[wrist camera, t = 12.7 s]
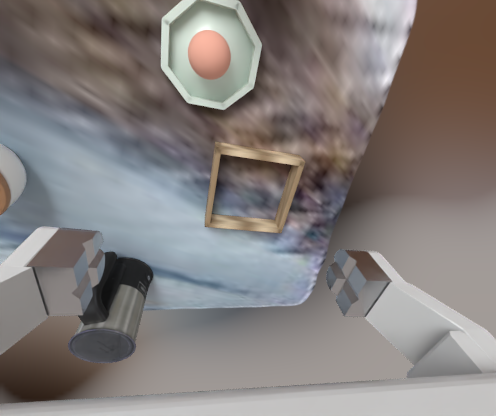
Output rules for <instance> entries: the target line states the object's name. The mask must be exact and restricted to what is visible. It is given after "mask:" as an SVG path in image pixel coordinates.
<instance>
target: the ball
mask: <svg viewBox="0 0 496 416" xmlns="http://www.w3.org/2000/svg"><path fill="white" fill-rule="evenodd" d="M188 59H189V62H190V65H191V67H192V69H193V70H194V71H195V72H196V74H198V75H199V76H200V77H202V78H204V79H208V80H214V79H218V78H220V77H221V76H223V75H224V74H225V73H226V71H227V70H228V68H229V65H230V61H231V53H230V48H229V45H228V43H227V42H226V40H225V39H224V37H223V36H222V35H220V34H219V33H217V32H215V31H213V30H203V31H200V32H198V33H197V34H195V35H194V36H193V38H192V39H191V41H190V43H189V47H188Z"/></svg>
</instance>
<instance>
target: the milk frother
mask: <svg viewBox="0 0 496 416" xmlns="http://www.w3.org/2000/svg"><path fill="white" fill-rule="evenodd" d="M152 278H153V273H152V271H151V269H150V267H149V266H148V265H147V264H145V263H144V262H142V261H140V260H137V259H133V258H119V259H117V254H116V253H115V252H105V267H104V271H103V275H102V277H101V280H100V282H99V284H97V285H96V286H94V287H93V288H92V293H93V296H92V298H91V300H90V302H89V304H88V306H87V308H86V310H85V312H84V314H83V315H78V317H79V318H80V320H81V323H80V325H79V327H78V329H77V331H76V334H75V335H74V336H73V337H72V338H71V339H70V341H69V343H68V347H69V350H70V352H71V353H72V354H73V355H75V356H76V357H78V358H80V359H82V360H86V361H90V362H95V363H112V362H117V361H121V360H123V359H126V358H128V357H129V356H131V355H132V354H133V353H134V351H135V348H136V344H135V340H136V337H137V332H138V328H139V324H140V320H141V316H142V312H143V308H144V303H145V299H146V295H147V291H148V288H149V284H150V283H151V281H152Z"/></svg>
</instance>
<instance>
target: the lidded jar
mask: <svg viewBox="0 0 496 416" xmlns="http://www.w3.org/2000/svg"><path fill="white" fill-rule="evenodd" d="M25 185H26V171H25V168H24V166H23V164H22V162H21V160H20V159H19V157H18V156H17V155H16V154H15V153H14V152H13V151H12V150H10V149H9V148H7V147H5V146H4V145H2V144H0V215H1V214H3V213H4V212H5V211H6V210H7V209H8V208H9V207H10V206H11V205H12V204H13V203H15V202H16V200H17V199H18V198H19V197H20V195H21V194H22V192H23V191H24V188H25Z"/></svg>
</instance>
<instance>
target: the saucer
mask: <svg viewBox="0 0 496 416" xmlns="http://www.w3.org/2000/svg"><path fill="white" fill-rule="evenodd" d="M203 30H213V31H215V32H217V33H219V34H220V35H222V36H223V37H224V39H225V40H226V42H227V43H228V45H229V48H230V53H231V61H230V65H229V68H228V70H227V71H226V73H225V74H224V75H223V76H221V77H220V78H218V79H214V80H208V79H204V78H202V77H200V76H199V75H198V74H196V72H195V71H194V70H193V69H192V67H191V65H190V62H189V59H188V47H189V43H190V41H191V39H192V38H193V36H194V35H195V34H197V33H198V32H200V31H203ZM261 48H262V43H261V41H260V40H259V38H258V36H257V34H256V32H255V30H254V28H253V26H252V24H251V22H250V20H249V18H248V16H247V14H246V12H245V10H244V8H243V6H242V4H241V2H240V1H238V0H182V1H181V2H180V3H179V4H178V5H176V6H175V7H174V8H173V9H172V10H171V11H170V12H169V13H167V14H166V15H165V16H164V17H163V18H162V37H161V68H162V70H163V71H164V72H165V74H166V75H167V76H168V78H169V79H170V80H171V82H172V83H173V84H174V86H175V87H176V88H177V90H178V91H179V92H180V94H181V95H182V96H183V98H184V99H185V100H186V102H187V103H190V104H195V105H201V106H206V107H211V108H216V109H221V110H225V109H226V108H227V107H229V106H230V105H231V104H233V103H234V102H235V101H237V100H238V99H239V98H241V97H242V96H244V95H245V94H246V93H248V92H249V91H250V90H252V89H253V87H254V84H255V79H256V74H257V68H258V63H259V58H260V53H261Z"/></svg>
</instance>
